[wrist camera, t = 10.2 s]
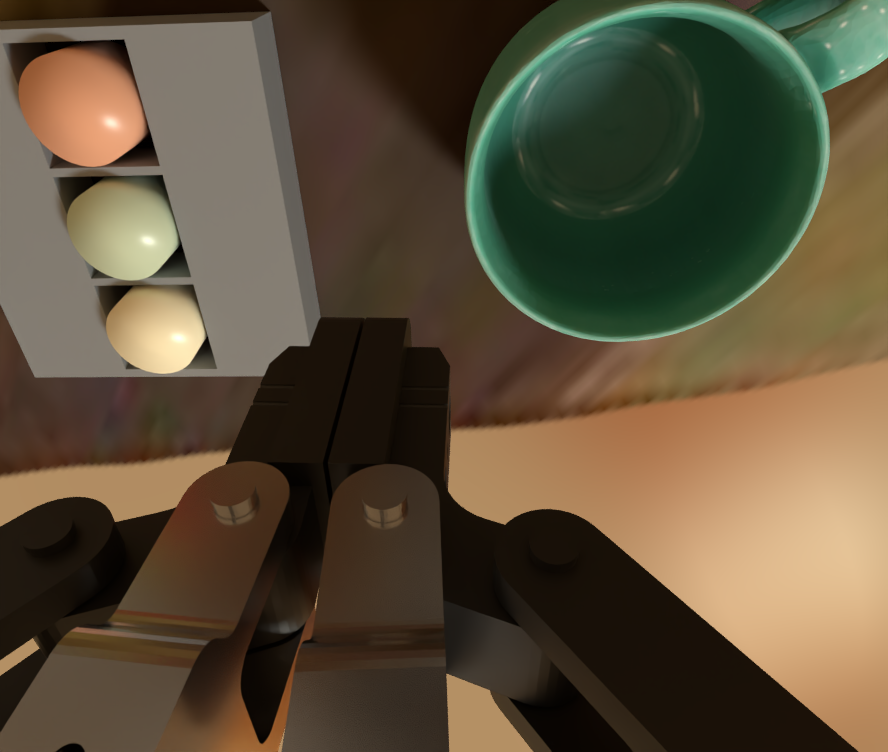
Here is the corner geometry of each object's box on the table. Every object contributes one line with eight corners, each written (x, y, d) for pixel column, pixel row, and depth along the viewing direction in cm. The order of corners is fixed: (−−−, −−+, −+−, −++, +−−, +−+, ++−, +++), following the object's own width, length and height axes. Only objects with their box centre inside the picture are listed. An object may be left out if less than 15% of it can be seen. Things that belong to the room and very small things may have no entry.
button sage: (88, 165, 33) (51, 189, 30) (179, 163, 33) (150, 187, 30) (118, 251, 36) (86, 281, 33) (201, 249, 35) (177, 279, 33)
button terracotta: (45, 40, 30) (0, 54, 27) (145, 37, 30) (110, 51, 27) (81, 144, 32) (43, 167, 30) (173, 142, 32) (143, 165, 29)
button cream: (123, 268, 36) (93, 298, 33) (206, 267, 36) (182, 298, 33) (148, 339, 39) (122, 373, 36) (225, 339, 39) (205, 373, 36)
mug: (543, 289, 36) (561, 392, 29) (415, 81, 31) (394, 141, 23) (862, 122, 31) (991, 194, 23) (779, -173, 25) (916, -207, 17)
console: (-79, 23, 30) (-129, 34, 28) (270, 11, 29) (251, 21, 27) (62, 348, 40) (35, 377, 38) (325, 346, 39) (315, 375, 37)
